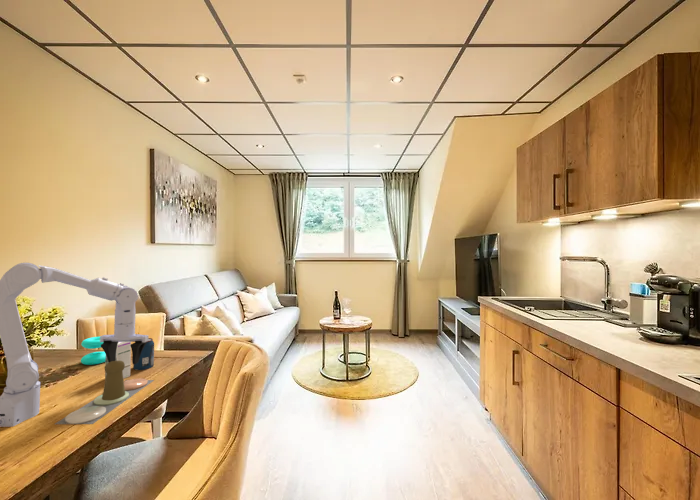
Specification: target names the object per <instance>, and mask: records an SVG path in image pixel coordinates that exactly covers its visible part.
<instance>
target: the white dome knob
mask: <svg viewBox="0 0 700 500" xmlns="http://www.w3.org/2000/svg"><path fill="white" fill-rule="evenodd" d="M105 413H106V408H105V407H103V406H91V407H86V408H82V409H80V408H79V410H78V409H76V410H75V411H72V412H70V413H69V414H67V415H66V416H65V417H66V418H65V417H64V418H65V422H66V423H68V424H67V425H81V424H80V423H85V422H89V421H92V420H95V419H97V418H99V417H101V416H103V415H104V414H105ZM103 417H104V416H103Z"/></svg>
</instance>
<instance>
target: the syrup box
mask: <svg viewBox="0 0 700 500" xmlns="http://www.w3.org/2000/svg"><path fill="white" fill-rule="evenodd" d="M131 344H132V342H118V344H117V349H116V360H115V361H123V362H124V364H125V367H124V369H123V371H122V372H123V380H124V379H126V378H129V377H130V376H131V363H132V359H131V358H132V357H131V354H132V349H131V346H130V345H131ZM104 363H105V365H106V364H107V363H109V362H108V359H107V356H106V359H105V362H104ZM105 365H104V366H105ZM106 374H107V373H106V372H105V371H104V380H106Z"/></svg>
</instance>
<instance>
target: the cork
mask: <svg viewBox="0 0 700 500" xmlns="http://www.w3.org/2000/svg"><path fill="white" fill-rule="evenodd" d="M124 367H125V364H124V362H123V361H112V362H109V363H107V364H106V365H104V373H105V372H106V373H107V374H106V379H104V385H103V391H102V394H103V396H102V399H103V400H115V399H118V398H121V397H123V396H124V395H125V387H124V381H125V380H124V379H123V372H122V371H123V369H124Z"/></svg>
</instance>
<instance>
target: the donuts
mask: <svg viewBox="0 0 700 500" xmlns="http://www.w3.org/2000/svg"><path fill="white" fill-rule="evenodd" d="M100 336H101V335H100ZM100 336H91V337H89V338H86V339H85V338H84V340H82V342H81V344H80V345H81V346H82V347H83V348H84V349H89V350H92V349H93V350H95V349H100V348H101V344H103V343H104V342H100ZM101 349H102V348H101ZM105 359H106V354H105V352H104V351H93V352H89V353H87V354H85V355H83V356H82V357H81V359H80V363H81V364H83V365H86V366H94V365H99V364H102V363H105Z"/></svg>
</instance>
